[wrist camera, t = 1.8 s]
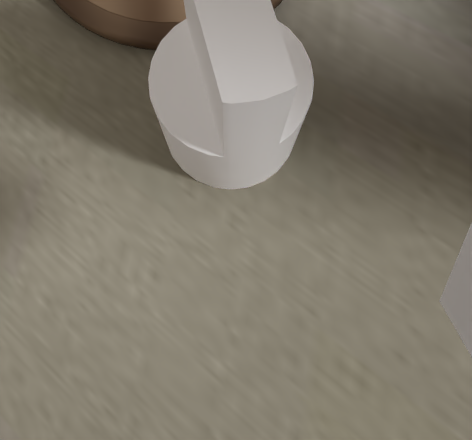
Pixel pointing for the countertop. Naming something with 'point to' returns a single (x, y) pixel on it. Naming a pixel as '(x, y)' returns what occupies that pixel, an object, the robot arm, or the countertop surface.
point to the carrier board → (129, 19)
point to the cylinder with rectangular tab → (230, 91)
